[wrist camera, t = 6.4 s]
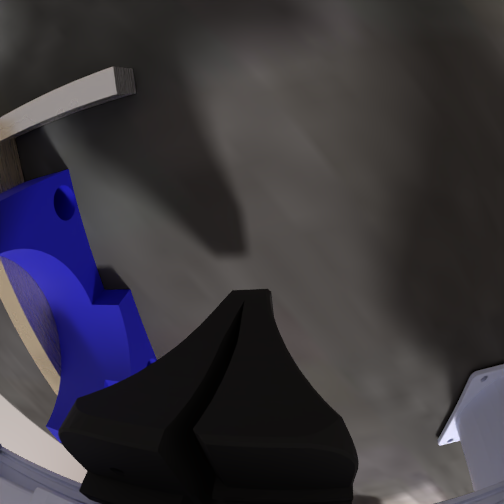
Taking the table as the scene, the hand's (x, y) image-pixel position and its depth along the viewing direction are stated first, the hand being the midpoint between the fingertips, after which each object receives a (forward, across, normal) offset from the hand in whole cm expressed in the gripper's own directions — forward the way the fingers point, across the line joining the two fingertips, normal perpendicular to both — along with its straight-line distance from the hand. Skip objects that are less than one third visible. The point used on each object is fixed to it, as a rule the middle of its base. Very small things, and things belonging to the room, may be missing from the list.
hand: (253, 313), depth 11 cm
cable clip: (+3, +8, 0) cm, 9 cm away
